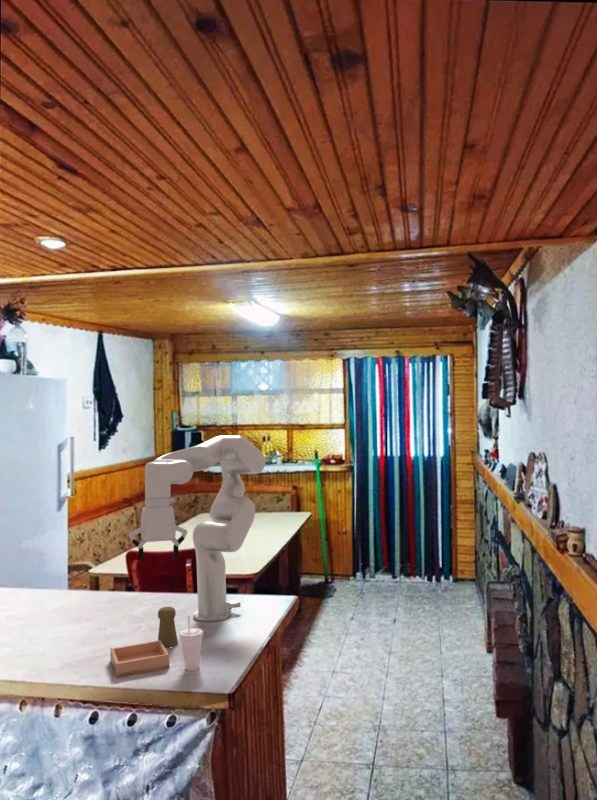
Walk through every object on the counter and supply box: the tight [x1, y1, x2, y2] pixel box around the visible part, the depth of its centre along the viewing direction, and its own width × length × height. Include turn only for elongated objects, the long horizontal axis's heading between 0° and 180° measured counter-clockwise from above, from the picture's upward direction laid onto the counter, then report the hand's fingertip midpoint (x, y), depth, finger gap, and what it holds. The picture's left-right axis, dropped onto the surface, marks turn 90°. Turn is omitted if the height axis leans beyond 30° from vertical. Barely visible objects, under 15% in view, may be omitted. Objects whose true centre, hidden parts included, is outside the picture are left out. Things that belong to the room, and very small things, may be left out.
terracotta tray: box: [110, 639, 170, 678], centre depth 179 cm, size 14×12×4 cm
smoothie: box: [179, 615, 204, 671], centre depth 176 cm, size 6×6×14 cm
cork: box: [157, 606, 179, 649], centre depth 193 cm, size 6×6×11 cm
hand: (158, 560), depth 195 cm, fingers open, 9 cm apart
